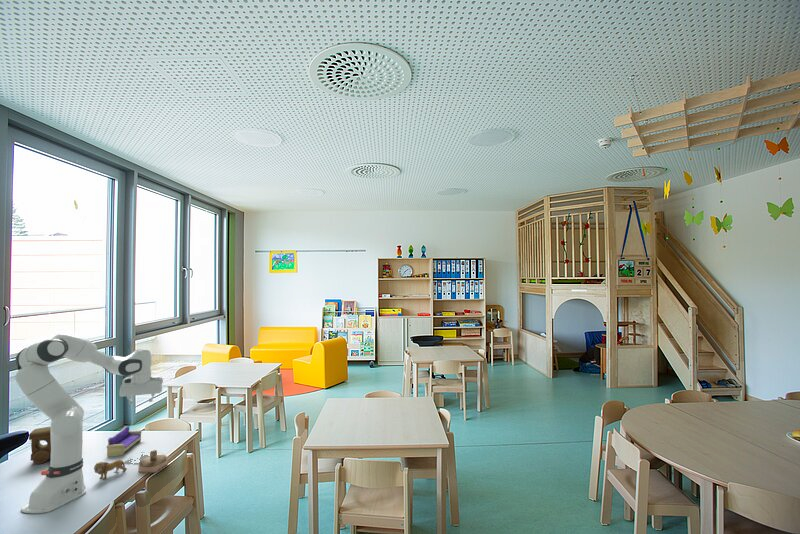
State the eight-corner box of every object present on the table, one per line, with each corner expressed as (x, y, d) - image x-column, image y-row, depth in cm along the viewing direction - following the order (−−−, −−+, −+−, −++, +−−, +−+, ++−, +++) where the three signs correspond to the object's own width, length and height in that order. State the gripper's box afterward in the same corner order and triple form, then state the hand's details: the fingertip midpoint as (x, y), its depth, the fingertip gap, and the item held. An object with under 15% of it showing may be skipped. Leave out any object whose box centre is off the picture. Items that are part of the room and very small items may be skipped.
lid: (140, 469, 191) (140, 458, 191) (138, 460, 201) (139, 450, 201) (168, 462, 198) (168, 452, 199) (165, 454, 208) (165, 444, 208)
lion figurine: (96, 484, 184) (97, 465, 184) (90, 481, 186) (91, 463, 187) (129, 470, 197) (130, 453, 198) (123, 468, 200) (123, 451, 200)
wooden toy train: (26, 467, 201) (28, 435, 201) (34, 458, 211) (35, 427, 211) (75, 458, 210) (76, 428, 211) (80, 450, 220) (81, 421, 221)
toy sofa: (122, 456, 213) (123, 438, 214) (105, 457, 212) (106, 439, 212) (141, 441, 234) (142, 424, 235) (126, 442, 233) (126, 425, 233)
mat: (146, 465, 203) (146, 464, 203) (120, 464, 203) (121, 464, 203) (163, 453, 217) (163, 453, 217) (140, 453, 217) (140, 452, 217)
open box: (155, 473, 195) (155, 466, 195) (138, 472, 195) (138, 465, 195) (167, 464, 204) (167, 457, 204) (150, 464, 204) (151, 457, 204)
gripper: (163, 375, 224) (163, 398, 223) (122, 378, 216) (121, 403, 216) (161, 377, 218) (161, 402, 218) (118, 380, 210) (117, 406, 210)
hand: (141, 402), depth 217 cm, fingers open, 8 cm apart
